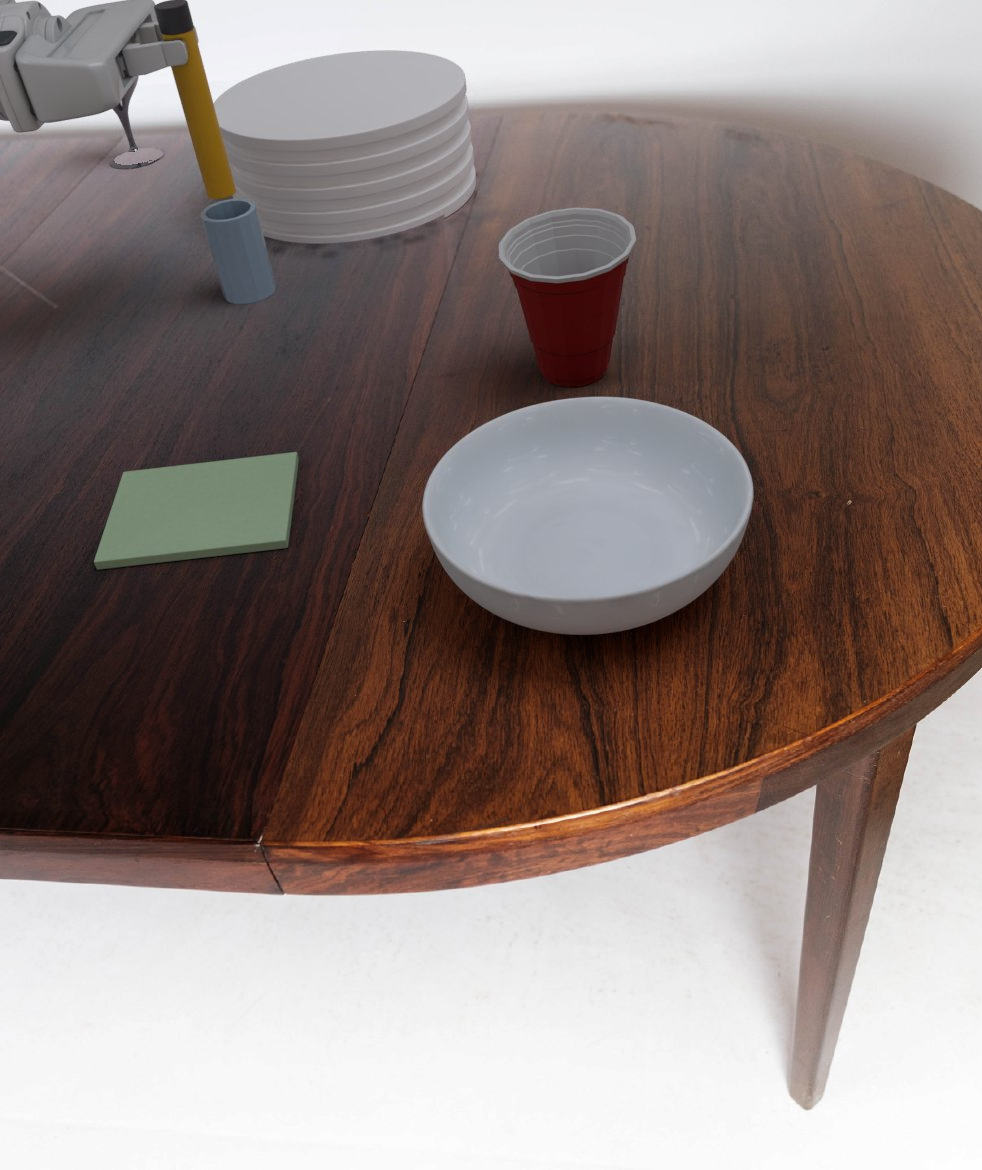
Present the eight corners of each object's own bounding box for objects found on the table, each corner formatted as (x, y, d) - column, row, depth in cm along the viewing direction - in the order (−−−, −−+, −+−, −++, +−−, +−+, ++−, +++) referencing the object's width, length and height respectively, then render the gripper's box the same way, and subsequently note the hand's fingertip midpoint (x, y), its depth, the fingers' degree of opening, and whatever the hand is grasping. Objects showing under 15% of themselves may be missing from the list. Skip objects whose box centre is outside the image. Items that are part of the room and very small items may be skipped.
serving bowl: (499, 455, 82) (491, 379, 77) (772, 497, 75) (781, 416, 70) (384, 640, 68) (365, 561, 63) (705, 712, 61) (711, 629, 56)
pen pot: (222, 312, 104) (197, 224, 98) (229, 287, 108) (204, 202, 102) (274, 306, 104) (252, 218, 98) (279, 281, 108) (257, 195, 102)
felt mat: (96, 570, 76) (93, 561, 76) (126, 479, 84) (123, 471, 84) (288, 548, 76) (285, 539, 75) (299, 459, 84) (297, 451, 83)
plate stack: (193, 206, 125) (163, 106, 117) (378, 132, 137) (363, 37, 129) (329, 272, 108) (306, 161, 100) (526, 181, 121) (518, 75, 113)
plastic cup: (485, 387, 89) (469, 253, 81) (551, 328, 95) (543, 199, 87) (597, 418, 84) (592, 279, 76) (659, 354, 90) (661, 219, 82)
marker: (204, 201, 97) (150, 10, 86) (209, 189, 99) (156, 1, 88) (234, 198, 97) (184, 6, 86) (238, 186, 99) (189, -3, 88)
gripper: (77, 63, 100) (221, 47, 99) (10, 141, 85) (179, 123, 84) (52, -11, 95) (202, -29, 95) (-23, 57, 80) (155, 37, 80)
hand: (191, 43), depth 89 cm, fingers closed on marker, 3 cm apart
